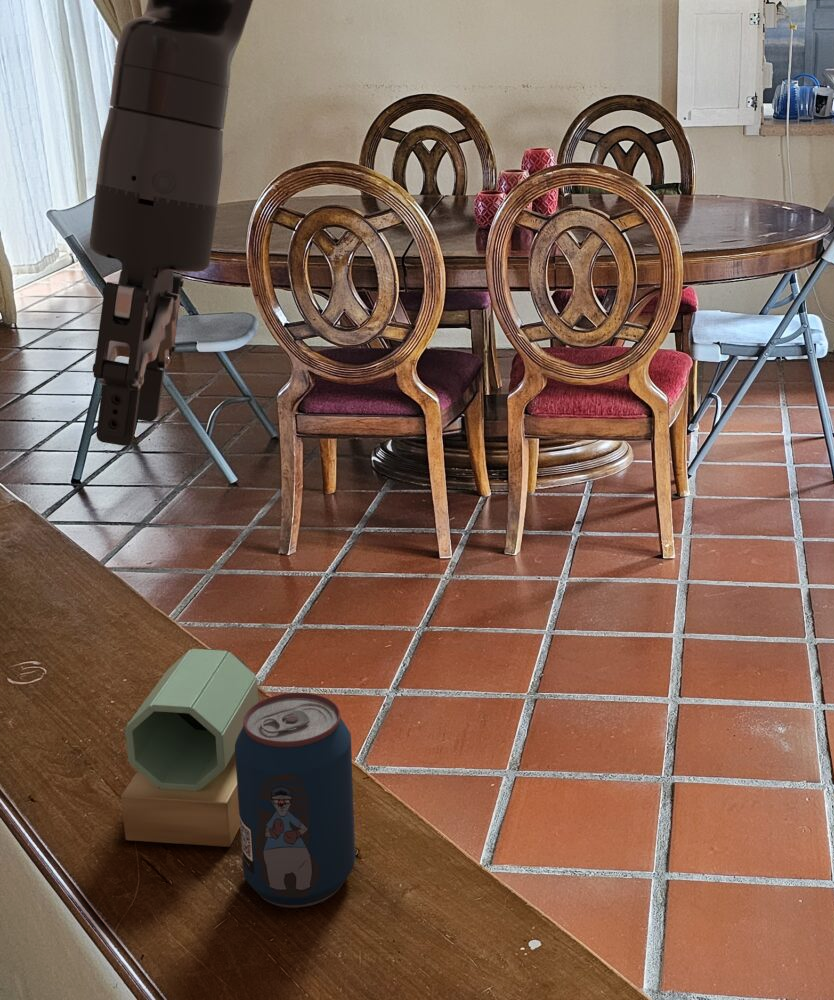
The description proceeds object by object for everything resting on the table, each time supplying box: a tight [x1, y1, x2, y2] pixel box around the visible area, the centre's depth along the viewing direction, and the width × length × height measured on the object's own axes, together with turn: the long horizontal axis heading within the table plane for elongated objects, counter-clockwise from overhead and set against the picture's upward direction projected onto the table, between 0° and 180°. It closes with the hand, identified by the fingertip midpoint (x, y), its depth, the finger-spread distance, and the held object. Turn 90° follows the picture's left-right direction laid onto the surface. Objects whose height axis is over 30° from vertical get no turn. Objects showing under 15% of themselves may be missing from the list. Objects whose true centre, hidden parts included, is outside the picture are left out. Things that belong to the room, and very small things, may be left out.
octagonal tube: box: [124, 648, 260, 791], centre depth 88 cm, size 8×6×6 cm
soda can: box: [235, 692, 356, 909], centre depth 81 cm, size 7×7×12 cm
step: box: [120, 752, 240, 848], centre depth 89 cm, size 10×7×4 cm
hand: (128, 430), depth 88 cm, fingers open, 8 cm apart
